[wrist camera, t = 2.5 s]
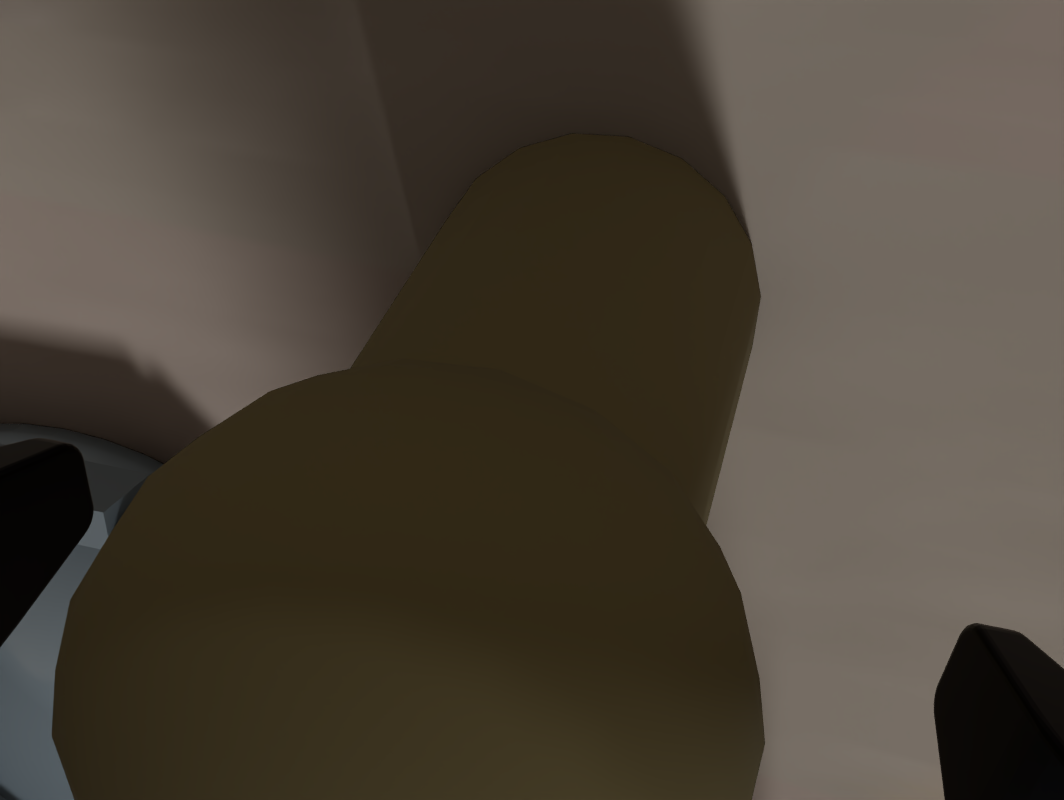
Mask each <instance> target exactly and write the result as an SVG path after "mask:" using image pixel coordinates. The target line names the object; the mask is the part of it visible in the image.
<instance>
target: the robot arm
mask: <svg viewBox="0 0 1064 800" xmlns="http://www.w3.org/2000/svg"><path fill="white" fill-rule="evenodd" d="M93 513H94V506H93V501H92V496H91V491H90V486H89V482H88V477H87V472H86V468H85V463H84V458H83V455H82V453H81V452H80V450H79V449H78V448H77V447H76V446H74V445H73V444H70V443H66V442H61V441H56V440H51V439H46V438H33V439H28V440H24V441H20V442H16V443H12V444H8V445H4V446H0V647H1V646H2V645H3V644H4V642H5V641H6V640H7V638H8V637H9V636H10V635H11V633H12V632H13V631H14V629H15V628H16V627H17V625H18V624H19V623H20V621H21V620H22V619H23V617H24V616H25V615H26V613H27V612H28V611H29V609H30V608H31V607H32V605H33V604H34V602H35V601H36V600H37V598H38V597H39V596H40V594H41V593H42V592H43V590H44V589H45V588H46V586H47V585H48V583H49V582H50V581H51V579H52V578H53V577H54V575H55V574H56V573H57V571H58V570H59V569H60V567H61V566H62V565H63V563H64V562H65V560H66V559H67V558H68V556H69V555H70V554H71V552H72V551H73V550H74V548H75V547H76V546H77V544H78V543H79V542H80V540H81V539H82V537H83V536H84V535H85V533H86V532H87V530H88V529H89V527H90V524H91V522H92V519H93ZM934 717H935V725H936V733H937V741H938V749H939V757H940V765H941V773H942V781H943V789H944V797H945V800H1064V669H1063V668H1062V667H1061V666H1060V665H1059V664H1057V663H1056V662H1055V661H1054V660H1053V659H1052V658H1050V657H1049V656H1048V655H1047V654H1046V653H1044V652H1043V651H1042V650H1041V649H1040V648H1039V647H1037V646H1036V645H1035V644H1034V643H1033V642H1031V641H1030V640H1029V639H1028V638H1027V637H1025V636H1024V635H1023V634H1021V633H1019V632H1017V631H1014V630H1009V629H1004V628H999V627H994V626H989V625H984V624H979V623H974V624H971V625H968V626H967V627H966V628H965V629H964V630H963V631H962V633H961V634H960V636H959V638H958V640H957V643H956V645H955V647H954V649H953V652H952V654H951V656H950V658H949V661H948V663H947V665H946V667H945V670H944V672H943V674H942V676H941V679H940V681H939V683H938V686H937V688H936V693H935V698H934Z"/></svg>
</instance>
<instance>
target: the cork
mask: <svg viewBox="0 0 1064 800" xmlns="http://www.w3.org/2000/svg"><path fill="white" fill-rule="evenodd" d="M760 298H761V295H760V289H759V283H758V278H757V272H756V266H755V261H754V255H753V249H752V244H751V242H750V240H749V239H748V237H747V235H746V233H745V232H744V230H743V228H742V226H741V225H740V223H739V221H738V219H737V217H736V216H735V214H734V212H733V210H732V209H731V207H730V205H729V203H728V201H727V200H726V198H725V196H724V195H723V194H721V193H720V192H719V191H718V190H717V189H716V188H715V187H714V186H712V185H711V184H710V183H709V182H708V181H707V180H706V179H704V178H703V177H702V176H701V175H700V174H699V173H698V172H696V171H695V170H694V169H693V168H692V167H691V166H690V165H689V164H687V163H686V162H685V161H684V160H683V159H681V158H679V157H677V156H674V155H672V154H669V153H667V152H665V151H662V150H660V149H657V148H655V147H652V146H650V145H648V144H645V143H643V142H640V141H638V140H635V139H633V138H631V137H623V136H607V135H591V134H574V133H572V134H568V135H565V136H561V137H558V138H554V139H551V140H547V141H543V142H540V143H536V144H533V145H529V146H525V147H522V148H519V149H518V150H516V151H515V152H513V153H512V154H510V155H509V156H508V157H506V158H505V159H503V160H502V161H500V162H499V163H498V164H496V165H495V166H493V167H492V168H490V169H489V170H488V171H486V172H485V173H483V174H482V175H480V176H479V177H477V178H476V180H475V181H474V182H473V184H472V185H471V187H470V188H469V189H468V191H467V192H466V194H465V195H464V196H463V198H462V199H461V200H460V202H459V203H458V205H457V206H456V207H455V209H454V210H453V212H452V213H451V214H450V216H449V217H448V219H447V220H446V222H445V223H444V225H443V226H442V228H441V229H440V231H439V232H438V234H437V235H436V237H435V239H434V240H433V242H432V243H431V245H430V246H429V248H428V249H427V251H426V252H425V254H424V256H423V257H422V259H421V260H420V262H419V263H418V265H417V266H416V268H415V269H414V271H413V273H412V274H411V276H410V277H409V279H408V280H407V282H406V283H405V285H404V286H403V288H402V290H401V291H400V293H399V294H398V296H397V297H396V299H395V300H394V302H393V303H392V305H391V307H390V308H389V310H388V311H387V313H386V314H385V316H384V317H383V319H382V320H381V322H380V324H379V325H378V327H377V328H376V330H375V331H374V333H373V334H372V336H371V337H370V339H369V341H368V342H367V344H366V345H365V347H364V348H363V350H362V351H361V353H360V354H359V356H358V358H357V359H356V361H355V362H354V364H353V365H352V367H351V368H350V369H347V370H342V371H337V372H332V373H327V374H322V375H317V376H314V377H311V378H308V379H305V380H302V381H299V382H296V383H293V384H290V385H287V386H284V387H281V388H278V389H275V390H272V391H270V392H268V393H266V394H265V395H263V396H262V397H260V398H259V399H257V400H256V401H254V402H252V403H251V404H249V405H248V406H246V407H245V408H243V409H242V410H240V411H238V412H237V413H235V414H234V415H232V416H231V417H229V418H228V419H226V420H224V421H223V422H221V423H220V424H218V425H217V426H215V427H214V428H212V429H211V430H209V431H207V432H206V433H204V434H203V435H201V436H200V437H198V438H197V439H196V440H194V441H193V442H192V443H190V444H189V445H188V446H187V447H185V448H184V449H183V450H181V451H180V452H179V453H178V454H176V455H175V456H174V457H172V458H171V459H170V460H169V461H167V462H166V463H165V464H164V465H162V466H161V467H160V468H158V469H157V470H156V471H155V472H153V473H152V474H151V475H149V476H148V477H147V479H146V480H145V482H144V483H143V485H142V486H141V488H140V489H139V491H138V492H137V494H136V495H135V497H134V498H133V500H132V501H131V503H130V505H129V506H128V508H127V509H126V511H125V512H124V514H123V515H122V517H121V518H120V520H119V521H118V523H117V524H116V526H115V527H114V529H113V530H112V532H111V533H110V535H109V536H108V538H107V540H106V541H105V543H104V545H103V546H102V548H101V550H100V551H99V553H98V554H97V556H96V558H95V559H94V561H93V563H92V564H91V566H90V568H89V569H88V571H87V573H86V574H85V576H84V578H83V579H82V581H81V583H80V584H79V586H78V588H77V589H76V591H75V593H74V594H73V596H72V598H71V599H70V603H69V608H68V612H67V617H66V622H65V626H64V631H63V636H62V640H61V645H60V650H59V655H58V659H57V664H56V669H55V681H54V700H53V718H52V739H53V741H54V744H55V747H56V750H57V753H58V755H59V758H60V761H61V764H62V767H63V769H64V772H65V775H66V778H67V781H68V783H69V786H70V789H71V792H72V795H73V798H74V800H752V796H753V791H754V787H755V783H756V779H757V775H758V770H759V766H760V762H761V758H762V753H763V749H764V745H765V738H764V726H763V715H762V703H761V691H760V680H759V674H758V670H757V665H756V661H755V656H754V652H753V647H752V642H751V638H750V633H749V629H748V624H747V620H746V615H745V610H744V606H743V601H742V597H741V592H740V590H739V588H738V586H737V584H736V581H735V579H734V577H733V575H732V572H731V570H730V568H729V566H728V564H727V561H726V559H725V557H724V555H723V553H722V550H721V548H720V546H719V545H718V543H717V542H716V540H715V539H714V537H713V536H712V534H711V532H710V531H709V529H708V528H707V526H706V524H707V520H708V516H709V512H710V508H711V505H712V501H713V497H714V493H715V489H716V485H717V481H718V477H719V474H720V470H721V466H722V462H723V458H724V454H725V450H726V446H727V443H728V439H729V435H730V431H731V427H732V423H733V419H734V415H735V411H736V408H737V404H738V400H739V396H740V392H741V388H742V384H743V380H744V377H745V373H746V369H747V365H748V361H749V357H750V353H751V349H752V345H753V339H754V333H755V327H756V322H757V316H758V310H759V304H760Z"/></svg>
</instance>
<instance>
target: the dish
mask: <svg viewBox="0 0 1064 800" xmlns="http://www.w3.org/2000/svg"><path fill="white" fill-rule="evenodd" d="M33 438H46V439H51V440H56V441H61V442H66V443H70V444H73V445H74V446H76V447H77V448H78V449H79V450H80V452H81V453H82V455H83V458H84V463H85V468H86V472H87V477H88V482H89V486H90V491H91V496H92V501H93V506H94V513H93V519H92V522H91V524H90V527H89V529H88V530H87V532H86V533H85V535H84V536H83V537H82V539H81V540H80V542H79V543H78V544H77V546H76V547H75V548H74V550H73V551H72V552H71V554H70V555H69V556H68V558H67V559H66V560H65V562H64V563H63V565H62V566H61V567H60V569H59V570H58V571H57V573H56V574H55V575H54V577H53V578H52V579H51V581H50V582H49V583H48V585H47V586H46V588H45V589H44V590H43V592H42V593H41V594H40V596H39V597H38V598H37V600H36V601H35V602H34V604H33V605H32V607H31V608H30V609H29V611H28V612H27V613H26V615H25V616H24V617H23V619H22V620H21V621H20V623H19V624H18V625H17V627H16V628H15V629H14V631H13V632H12V633H11V635H10V636H9V637H8V638H7V640H6V641H5V642H4V644H3V645H2V646H1V647H0V800H74V798H73V795H72V792H71V789H70V786H69V783H68V781H67V778H66V775H65V772H64V769H63V767H62V764H61V761H60V758H59V755H58V753H57V750H56V747H55V744H54V741H53V739H52V718H53V700H54V681H55V669H56V664H57V659H58V655H59V650H60V645H61V640H62V636H63V631H64V626H65V622H66V617H67V612H68V608H69V603H70V599H71V598H72V596H73V594H74V593H75V591H76V589H77V588H78V586H79V584H80V583H81V581H82V579H83V578H84V576H85V574H86V573H87V571H88V569H89V568H90V566H91V564H92V563H93V561H94V559H95V558H96V556H97V554H98V553H99V551H100V550H101V548H102V546H103V545H104V543H105V541H106V540H107V538H108V536H109V535H110V533H111V532H112V530H113V529H114V527H115V526H116V524H117V523H118V521H119V520H120V518H121V517H122V515H123V514H124V512H125V511H126V509H127V508H128V506H129V505H130V503H131V501H132V500H133V498H134V497H135V495H136V494H137V492H138V491H139V489H140V488H141V486H142V485H143V483H144V482H145V480H146V479H147V477H148V476H149V475H151V474H152V473H153V472H155V471H156V470H157V469H158V468H160V467H161V466H162V465H164V464H162V463H160V462H158V461H156V460H154V459H152V458H150V457H148V456H146V455H144V454H141V453H139V452H136V451H133V450H131V449H128V448H125V447H123V446H120V445H117V444H115V443H112V442H109V441H107V440H104V439H101V438H97V437H93V436H89V435H85V434H81V433H77V432H73V431H69V430H66V429H61V428H53V427H46V426H38V425H31V424H0V446H4V445H8V444H12V443H16V442H20V441H24V440H28V439H33Z"/></svg>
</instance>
